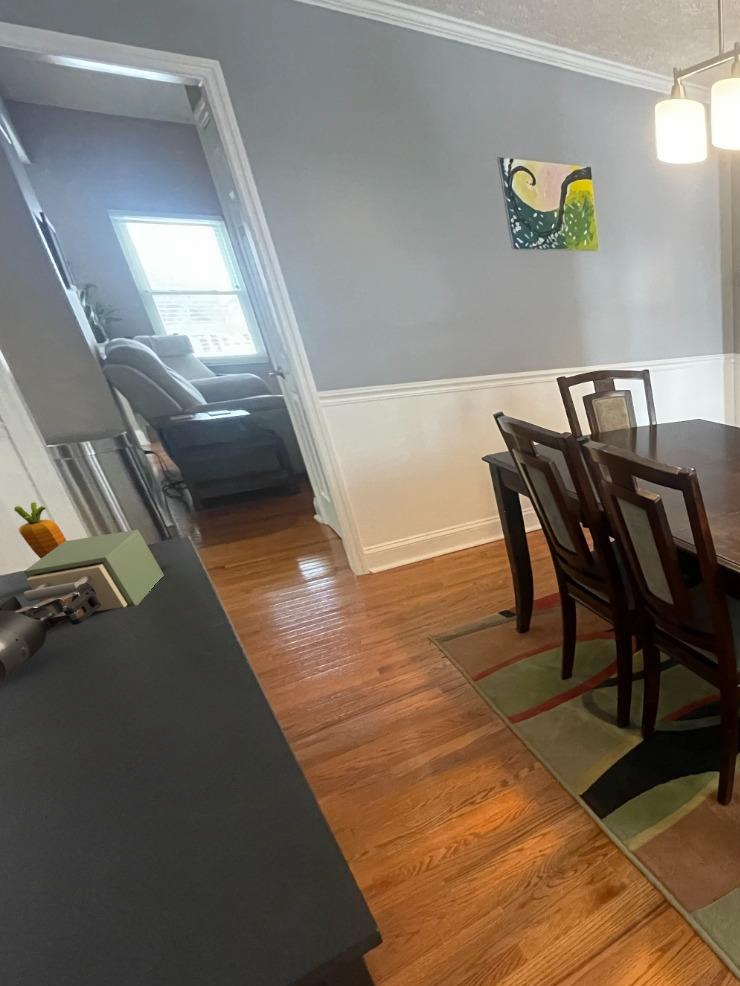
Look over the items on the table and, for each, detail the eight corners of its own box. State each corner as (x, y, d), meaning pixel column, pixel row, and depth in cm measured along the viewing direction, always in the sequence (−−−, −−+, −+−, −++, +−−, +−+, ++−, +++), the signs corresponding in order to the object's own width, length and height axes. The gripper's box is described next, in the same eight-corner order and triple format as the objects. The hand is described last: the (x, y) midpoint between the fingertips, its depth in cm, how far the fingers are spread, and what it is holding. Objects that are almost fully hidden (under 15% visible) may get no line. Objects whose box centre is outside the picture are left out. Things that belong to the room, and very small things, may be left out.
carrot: (76, 570, 116) (29, 498, 109) (95, 571, 115) (49, 499, 108) (44, 582, 111) (-7, 508, 104) (64, 584, 110) (14, 509, 103)
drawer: (111, 622, 96) (84, 579, 92) (38, 637, 93) (6, 594, 89) (152, 578, 109) (129, 540, 105) (89, 590, 106) (63, 551, 102)
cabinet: (136, 606, 102) (105, 557, 97) (58, 622, 98) (22, 571, 94) (164, 575, 112) (138, 529, 107) (95, 588, 108) (64, 541, 104)
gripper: (41, 613, 79) (99, 563, 92) (-111, 642, 74) (-27, 585, 87) (73, 658, 82) (124, 604, 96) (-70, 689, 77) (5, 627, 91)
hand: (52, 595), depth 91 cm, fingers open, 8 cm apart
